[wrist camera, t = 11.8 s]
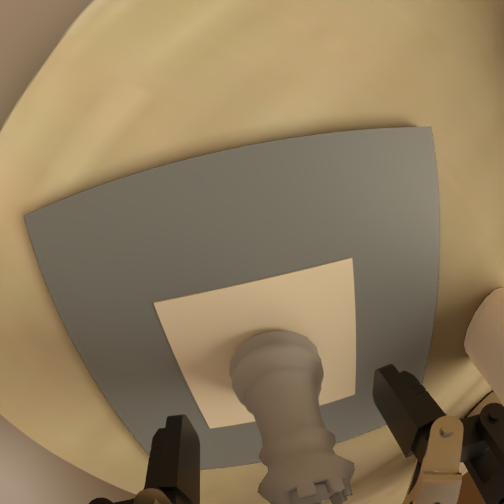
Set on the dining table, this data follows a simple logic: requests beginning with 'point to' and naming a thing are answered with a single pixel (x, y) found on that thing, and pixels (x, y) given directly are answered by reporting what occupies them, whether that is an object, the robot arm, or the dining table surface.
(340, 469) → the rook chess piece
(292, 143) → the board
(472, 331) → the foam cup
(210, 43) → the dining table surface
